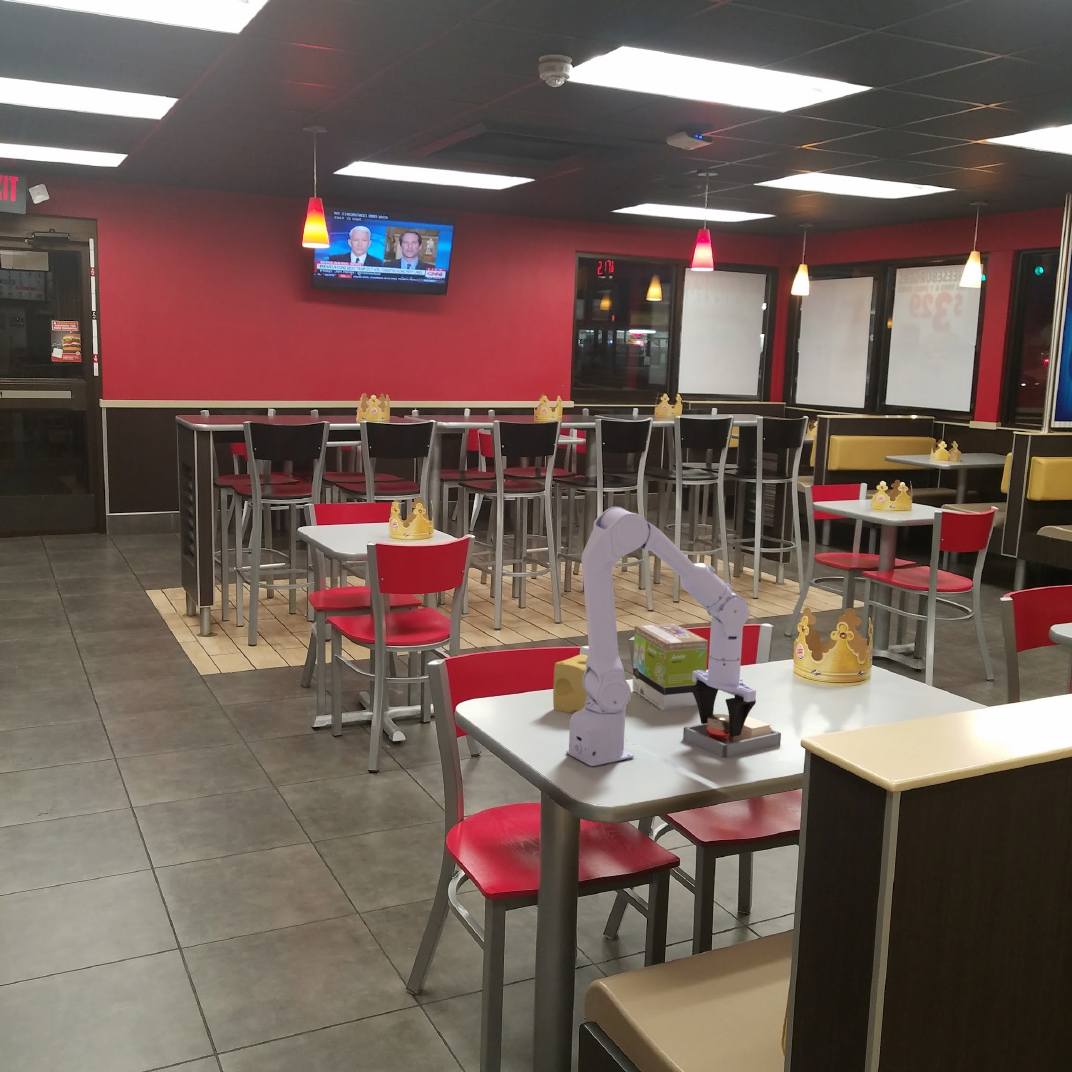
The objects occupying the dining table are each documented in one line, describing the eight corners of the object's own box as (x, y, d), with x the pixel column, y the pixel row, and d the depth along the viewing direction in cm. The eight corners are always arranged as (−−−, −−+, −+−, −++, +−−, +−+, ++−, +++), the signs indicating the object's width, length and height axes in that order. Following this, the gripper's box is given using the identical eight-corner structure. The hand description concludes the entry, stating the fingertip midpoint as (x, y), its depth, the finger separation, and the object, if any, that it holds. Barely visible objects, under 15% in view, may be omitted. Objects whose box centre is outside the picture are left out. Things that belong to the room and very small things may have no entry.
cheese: (593, 721, 205) (595, 671, 204) (549, 709, 212) (551, 661, 210) (622, 708, 214) (624, 661, 212) (578, 697, 220) (580, 651, 218)
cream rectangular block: (750, 747, 191) (752, 729, 190) (720, 734, 197) (721, 716, 197) (770, 743, 193) (771, 724, 193) (739, 730, 200) (740, 712, 200)
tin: (718, 750, 188) (720, 723, 188) (700, 742, 192) (701, 716, 192) (738, 746, 191) (740, 719, 190) (720, 738, 195) (721, 712, 194)
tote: (724, 761, 185) (725, 745, 185) (682, 742, 194) (683, 727, 194) (780, 748, 193) (781, 733, 192) (737, 731, 202) (738, 716, 201)
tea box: (630, 691, 226) (633, 624, 224) (671, 687, 229) (675, 621, 227) (662, 712, 212) (666, 641, 210) (706, 708, 215) (710, 638, 213)
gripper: (770, 664, 186) (765, 737, 188) (713, 645, 197) (709, 714, 200) (741, 668, 182) (736, 743, 184) (685, 649, 194) (681, 720, 196)
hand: (720, 729), depth 191 cm, fingers open, 7 cm apart
